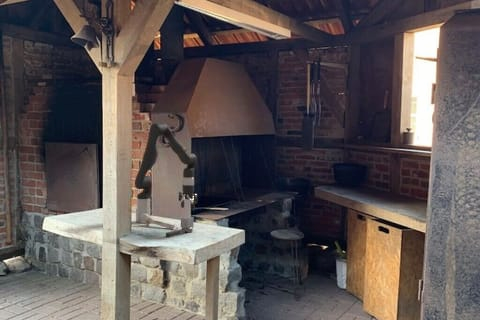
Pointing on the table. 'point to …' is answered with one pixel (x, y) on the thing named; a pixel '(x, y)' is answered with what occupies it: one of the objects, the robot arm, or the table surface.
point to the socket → (187, 222)
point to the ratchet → (179, 232)
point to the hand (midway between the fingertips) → (187, 208)
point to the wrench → (157, 222)
